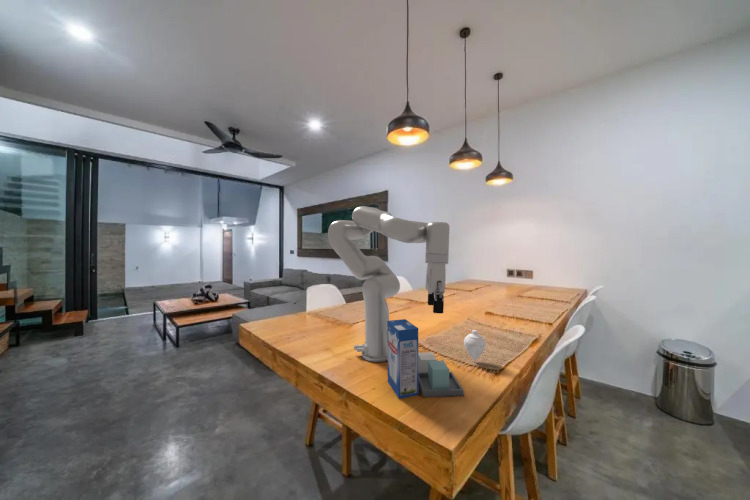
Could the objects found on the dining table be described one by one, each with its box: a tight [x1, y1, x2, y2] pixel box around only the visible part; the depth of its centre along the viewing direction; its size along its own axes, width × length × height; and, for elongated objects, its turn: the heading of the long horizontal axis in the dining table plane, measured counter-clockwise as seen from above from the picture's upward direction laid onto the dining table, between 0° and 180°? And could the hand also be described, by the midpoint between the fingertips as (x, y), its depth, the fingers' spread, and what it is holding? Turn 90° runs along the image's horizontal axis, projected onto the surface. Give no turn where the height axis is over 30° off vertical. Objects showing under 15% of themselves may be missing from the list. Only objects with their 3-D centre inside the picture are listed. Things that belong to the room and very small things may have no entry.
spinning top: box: [463, 329, 487, 363], centre depth 101 cm, size 8×8×12 cm
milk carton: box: [387, 318, 420, 400], centre depth 83 cm, size 10×6×20 cm, turn 16°
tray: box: [419, 371, 465, 398], centre depth 84 cm, size 12×11×2 cm
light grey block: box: [418, 352, 438, 373], centre depth 96 cm, size 9×6×5 cm, turn 92°
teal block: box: [428, 360, 450, 390], centre depth 84 cm, size 5×6×6 cm
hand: (435, 308), depth 92 cm, fingers open, 9 cm apart
